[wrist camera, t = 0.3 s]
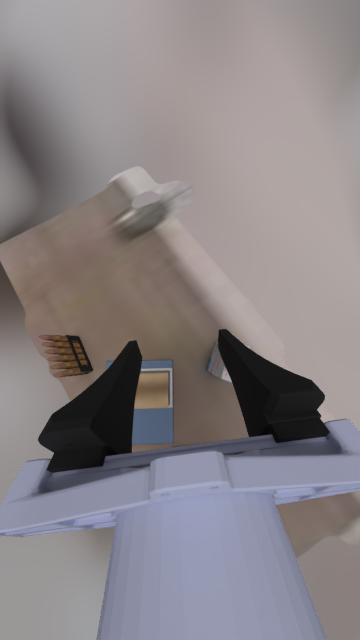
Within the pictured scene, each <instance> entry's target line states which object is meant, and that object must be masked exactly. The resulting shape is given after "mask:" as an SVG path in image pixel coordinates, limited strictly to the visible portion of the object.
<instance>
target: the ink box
mask: <svg viewBox="0 0 360 640" xmlns="http://www.w3.org/2000/svg"><path fill="white" fill-rule="evenodd" d="M245 346H247V345H245ZM247 347H248V348H249V349H250V347H249V346H247ZM206 370H207V371H208V372H210V373H211V374H213V375H215V376H216V377H219V378H221V379H223V380H226V381H228V382H231V383H232V381H231V378H230V376H229V374H228V372H227V370H226V367H225V365H224V363H223V361H222V358H221V355H220V352H219V349H218V342H216V344H215V346H214V349H213V352H212V354H211V357H210V360H209V363H208V365H207V368H206Z"/></svg>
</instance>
